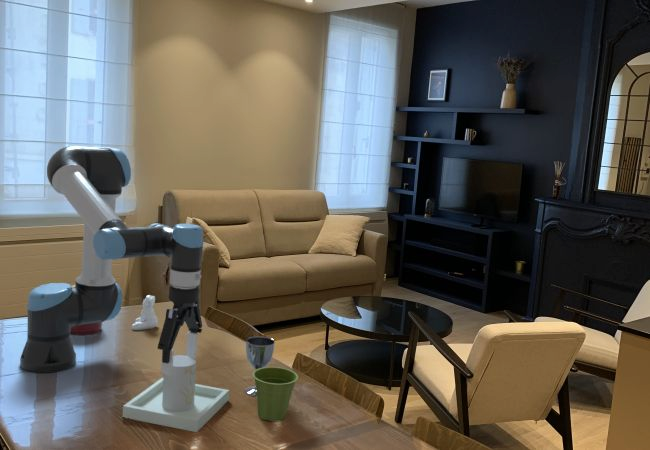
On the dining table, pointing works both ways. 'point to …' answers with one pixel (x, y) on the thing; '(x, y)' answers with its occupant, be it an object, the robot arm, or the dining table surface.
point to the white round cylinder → (180, 385)
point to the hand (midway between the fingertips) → (179, 364)
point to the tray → (193, 419)
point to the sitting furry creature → (146, 315)
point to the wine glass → (258, 355)
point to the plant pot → (274, 391)
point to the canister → (86, 328)
